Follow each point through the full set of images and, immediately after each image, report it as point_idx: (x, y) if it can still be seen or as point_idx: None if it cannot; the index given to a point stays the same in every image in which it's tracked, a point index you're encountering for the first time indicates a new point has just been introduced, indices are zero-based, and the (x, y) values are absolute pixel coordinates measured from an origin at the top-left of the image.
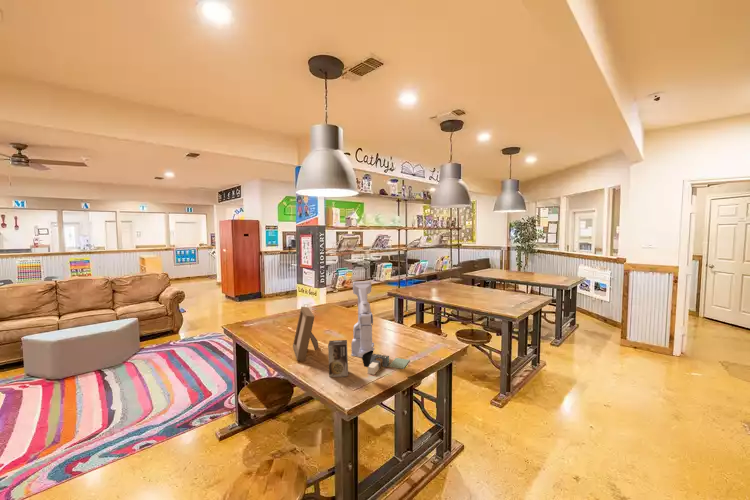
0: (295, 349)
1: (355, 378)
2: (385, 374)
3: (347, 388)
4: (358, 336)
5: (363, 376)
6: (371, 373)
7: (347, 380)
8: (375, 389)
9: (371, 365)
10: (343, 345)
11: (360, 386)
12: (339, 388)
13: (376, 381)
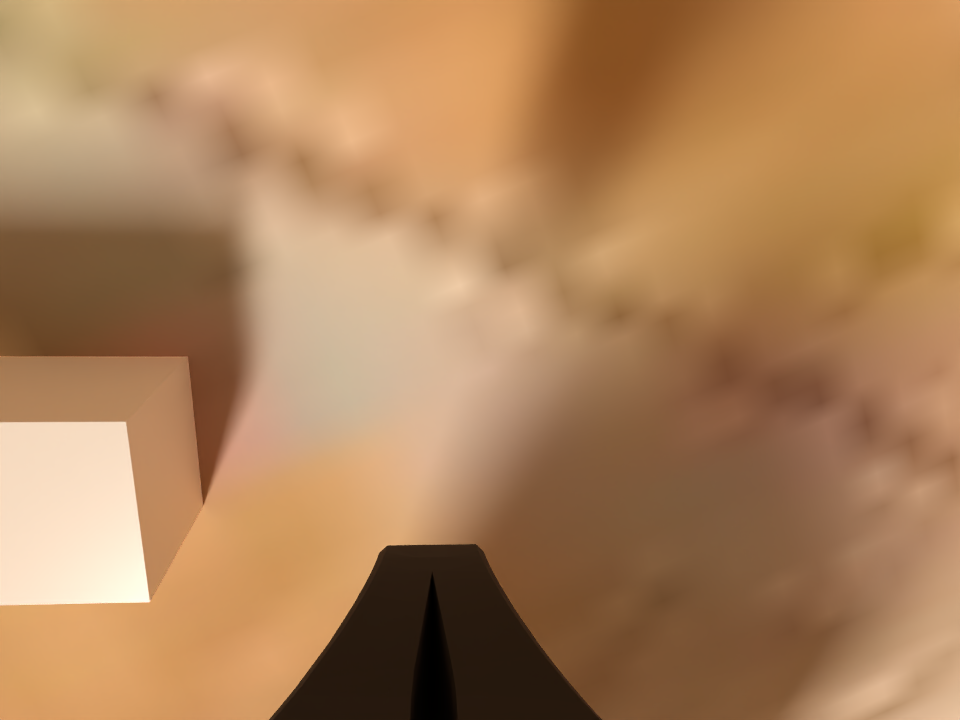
0: None
1: None
2: (35, 77)
3: (911, 594)
4: None
5: (370, 530)
6: (189, 424)
7: (630, 717)
8: (854, 51)
9: (8, 545)
10: None
11: (793, 414)
12: (932, 705)
13: (485, 171)
